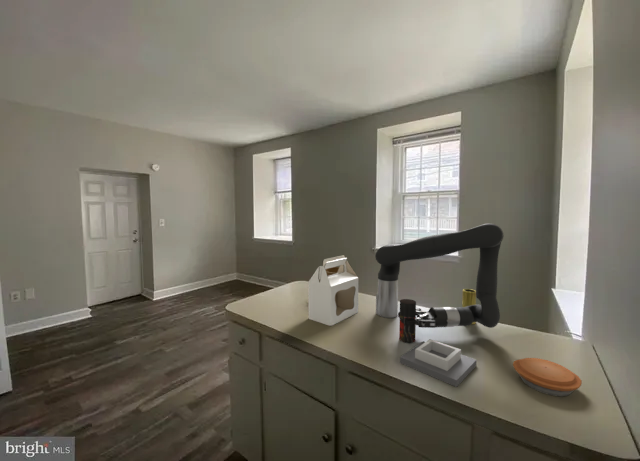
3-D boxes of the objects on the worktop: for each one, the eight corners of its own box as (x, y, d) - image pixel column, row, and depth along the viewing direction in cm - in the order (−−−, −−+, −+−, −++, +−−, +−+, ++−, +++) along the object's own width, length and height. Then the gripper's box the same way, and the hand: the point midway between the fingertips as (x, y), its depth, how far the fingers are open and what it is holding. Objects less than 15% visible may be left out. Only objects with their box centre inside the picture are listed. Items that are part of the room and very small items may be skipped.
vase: (463, 318, 133) (464, 287, 132) (478, 321, 128) (479, 290, 127) (458, 321, 128) (459, 290, 127) (473, 325, 124) (474, 293, 123)
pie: (595, 395, 78) (596, 377, 78) (553, 407, 74) (555, 388, 73) (537, 365, 93) (538, 350, 92) (500, 373, 88) (501, 358, 88)
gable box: (330, 326, 124) (330, 262, 122) (307, 319, 133) (307, 258, 130) (358, 312, 141) (359, 255, 139) (337, 306, 149) (337, 252, 147)
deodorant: (416, 343, 108) (417, 304, 107) (399, 342, 109) (400, 303, 108) (414, 336, 114) (415, 299, 113) (398, 335, 115) (399, 298, 114)
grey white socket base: (399, 362, 95) (400, 348, 94) (423, 346, 106) (423, 333, 105) (456, 387, 82) (457, 370, 81) (476, 365, 93) (476, 350, 92)
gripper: (435, 301, 119) (395, 302, 117) (454, 314, 104) (408, 315, 103) (435, 319, 119) (395, 320, 118) (453, 334, 105) (408, 335, 104)
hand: (401, 318), depth 111 cm, fingers closed on deodorant, 6 cm apart
